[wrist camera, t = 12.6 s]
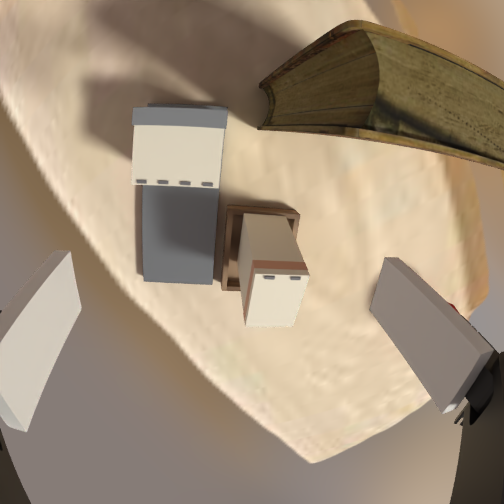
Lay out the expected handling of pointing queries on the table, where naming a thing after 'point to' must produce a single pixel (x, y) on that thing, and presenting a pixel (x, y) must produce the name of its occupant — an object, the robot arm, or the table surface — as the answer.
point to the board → (179, 228)
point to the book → (389, 94)
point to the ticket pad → (177, 146)
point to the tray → (234, 233)
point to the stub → (270, 271)
